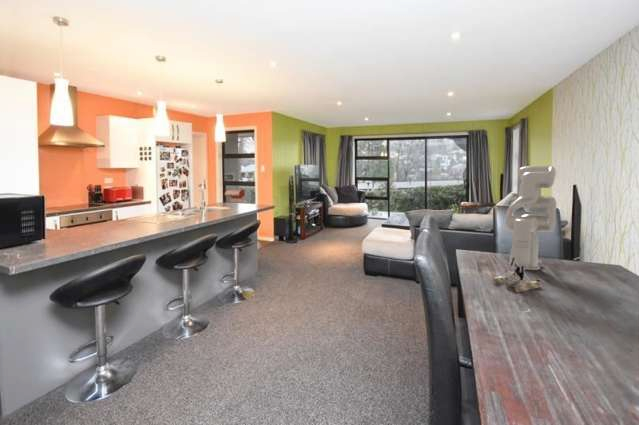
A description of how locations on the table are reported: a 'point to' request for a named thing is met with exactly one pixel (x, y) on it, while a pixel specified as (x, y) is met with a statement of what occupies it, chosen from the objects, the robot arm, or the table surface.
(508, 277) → the game die
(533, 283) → the parallel beige rails
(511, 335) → the table surface
